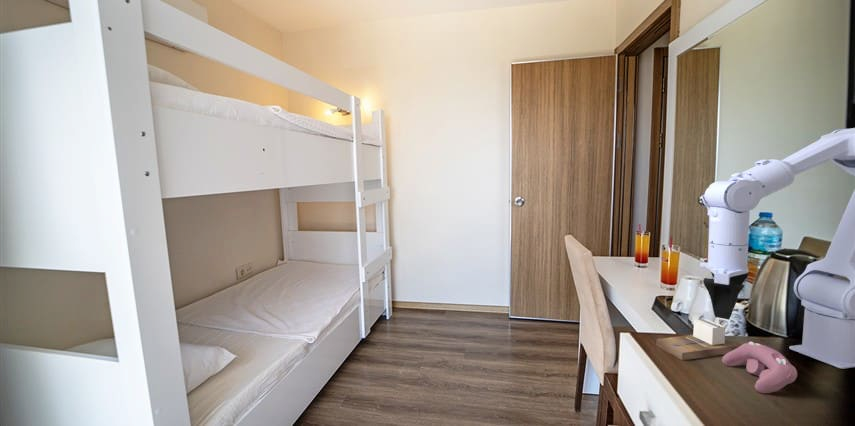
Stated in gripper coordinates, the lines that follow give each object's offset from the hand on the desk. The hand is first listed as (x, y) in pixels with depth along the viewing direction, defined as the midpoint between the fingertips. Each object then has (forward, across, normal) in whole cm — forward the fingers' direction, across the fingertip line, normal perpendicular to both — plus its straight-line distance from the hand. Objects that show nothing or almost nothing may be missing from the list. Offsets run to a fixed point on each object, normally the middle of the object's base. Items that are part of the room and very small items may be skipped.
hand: (724, 312), depth 66 cm
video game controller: (+9, +6, +5) cm, 12 cm away
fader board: (+9, 0, -4) cm, 10 cm away
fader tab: (+7, -2, -3) cm, 8 cm away
